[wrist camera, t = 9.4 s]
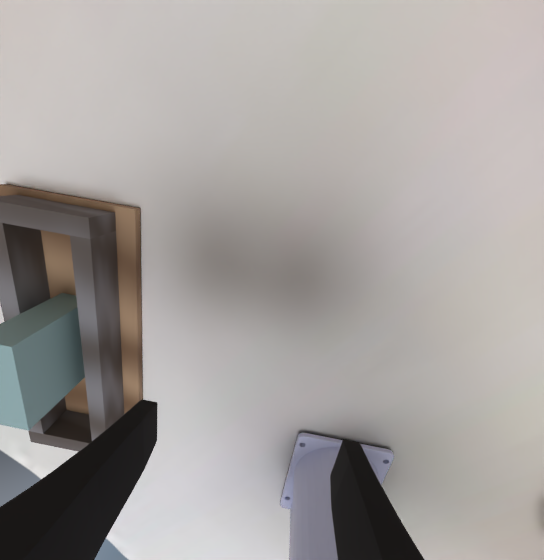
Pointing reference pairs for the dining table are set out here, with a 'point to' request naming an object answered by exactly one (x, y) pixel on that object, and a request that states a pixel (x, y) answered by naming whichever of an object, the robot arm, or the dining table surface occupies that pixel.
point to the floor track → (78, 299)
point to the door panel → (39, 360)
